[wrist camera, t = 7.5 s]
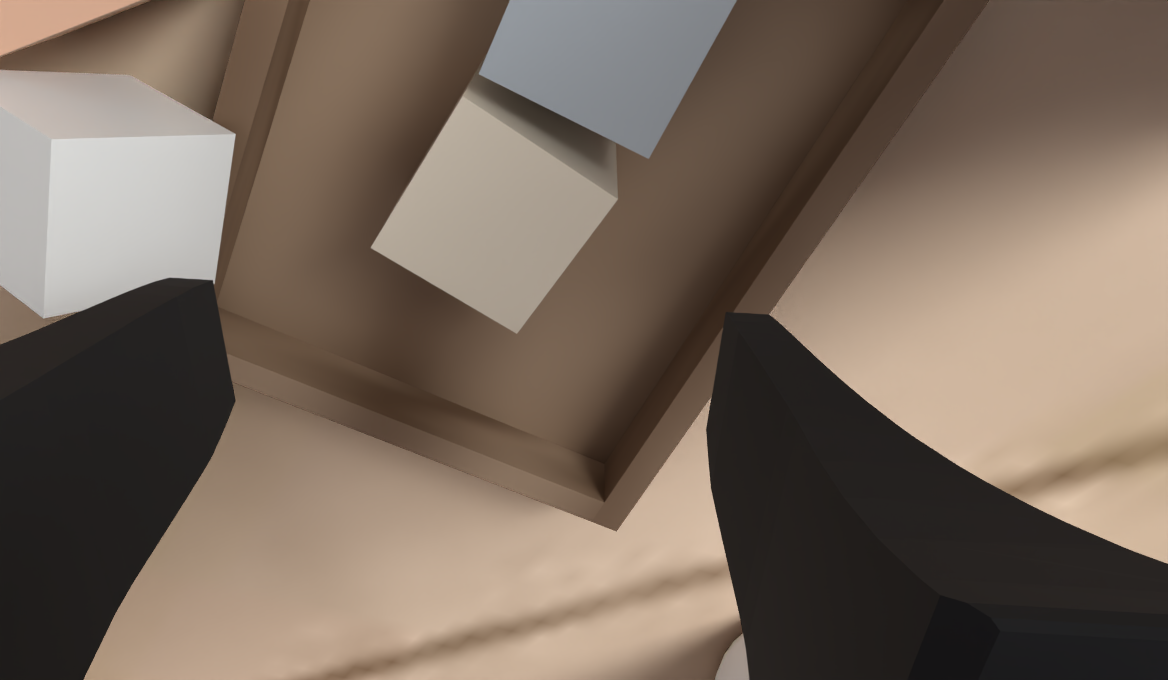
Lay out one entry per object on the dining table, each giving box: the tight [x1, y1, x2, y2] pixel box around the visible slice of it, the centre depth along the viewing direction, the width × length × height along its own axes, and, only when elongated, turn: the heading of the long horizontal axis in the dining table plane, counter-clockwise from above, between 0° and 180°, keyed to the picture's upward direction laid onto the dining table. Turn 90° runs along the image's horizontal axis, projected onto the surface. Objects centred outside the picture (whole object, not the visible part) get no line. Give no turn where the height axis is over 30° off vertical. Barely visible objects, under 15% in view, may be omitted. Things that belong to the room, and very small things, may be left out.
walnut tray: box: [212, 0, 989, 531], centre depth 19 cm, size 12×16×2 cm
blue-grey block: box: [479, 0, 737, 159], centre depth 16 cm, size 3×4×3 cm
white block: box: [0, 70, 236, 318], centre depth 17 cm, size 3×4×3 cm
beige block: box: [371, 55, 618, 334], centre depth 18 cm, size 3×4×3 cm
